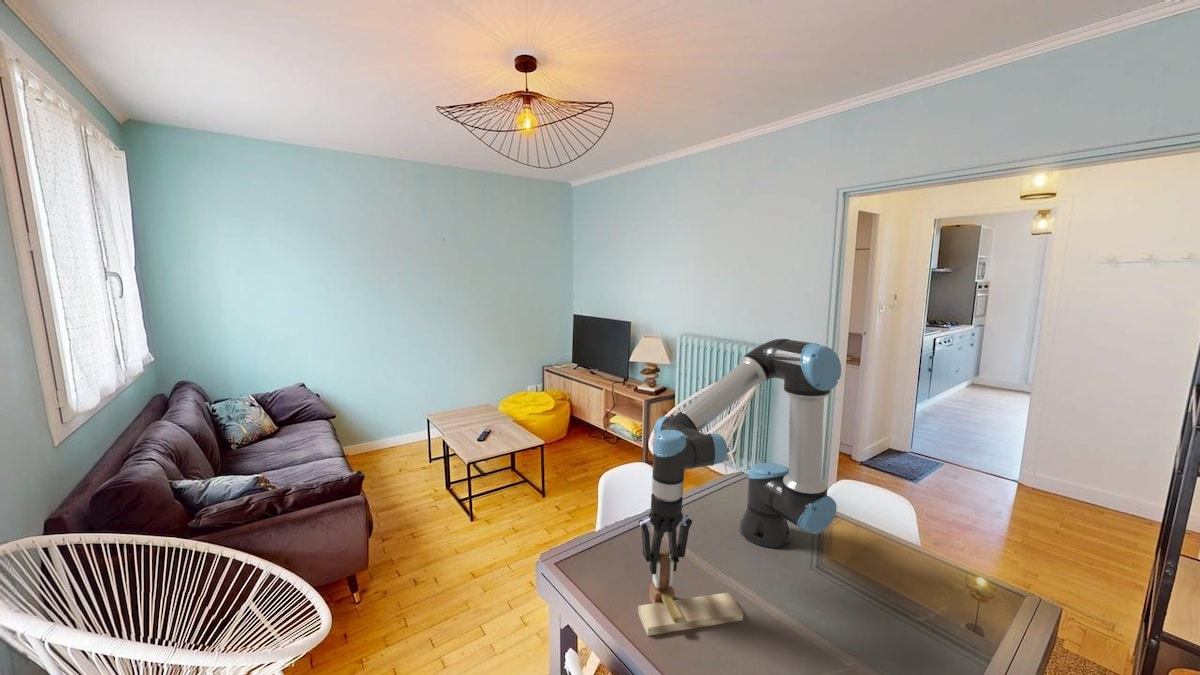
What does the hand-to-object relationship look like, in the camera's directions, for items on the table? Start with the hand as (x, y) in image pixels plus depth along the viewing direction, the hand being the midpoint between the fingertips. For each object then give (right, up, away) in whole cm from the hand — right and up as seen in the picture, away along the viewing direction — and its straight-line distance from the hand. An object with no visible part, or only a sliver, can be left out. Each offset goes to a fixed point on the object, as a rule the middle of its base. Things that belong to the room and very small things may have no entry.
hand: (662, 583), depth 110 cm
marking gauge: (+1, -5, -3) cm, 6 cm away
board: (+6, -6, -4) cm, 9 cm away
